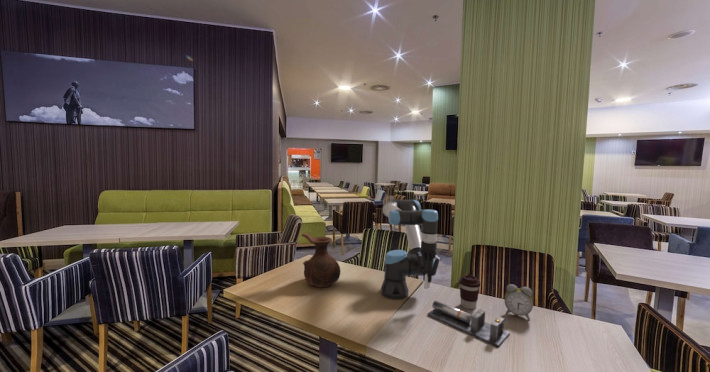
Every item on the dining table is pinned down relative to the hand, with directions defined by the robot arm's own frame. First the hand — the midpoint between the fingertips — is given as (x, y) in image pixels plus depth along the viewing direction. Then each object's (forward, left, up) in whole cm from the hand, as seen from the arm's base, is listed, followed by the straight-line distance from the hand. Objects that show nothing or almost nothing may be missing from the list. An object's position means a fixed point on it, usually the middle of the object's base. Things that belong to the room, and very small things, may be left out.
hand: (426, 287), depth 144 cm
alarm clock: (+34, +26, -10) cm, 44 cm away
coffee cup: (+14, +17, -10) cm, 24 cm away
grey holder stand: (+21, 0, -10) cm, 23 cm away
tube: (+14, 0, -9) cm, 16 cm away
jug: (-57, -22, -10) cm, 62 cm away
